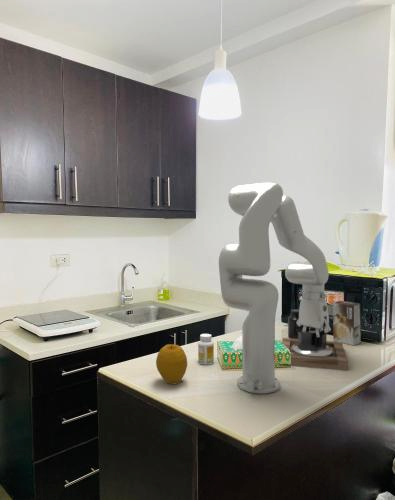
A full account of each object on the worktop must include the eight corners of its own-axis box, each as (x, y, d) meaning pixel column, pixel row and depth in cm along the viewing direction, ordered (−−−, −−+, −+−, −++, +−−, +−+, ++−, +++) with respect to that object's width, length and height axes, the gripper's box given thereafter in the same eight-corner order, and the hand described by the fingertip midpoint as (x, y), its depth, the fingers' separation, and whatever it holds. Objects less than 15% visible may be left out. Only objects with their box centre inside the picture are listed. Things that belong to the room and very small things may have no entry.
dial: (340, 356, 134) (341, 335, 133) (304, 360, 130) (304, 338, 130) (319, 344, 147) (319, 325, 147) (285, 347, 144) (285, 328, 143)
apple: (149, 381, 118) (149, 343, 117) (175, 373, 124) (174, 337, 124) (168, 391, 111) (167, 351, 110) (194, 382, 117) (193, 344, 116)
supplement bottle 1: (214, 359, 136) (214, 333, 136) (213, 365, 131) (213, 337, 130) (199, 359, 137) (198, 332, 136) (197, 364, 132) (197, 337, 131)
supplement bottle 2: (284, 336, 164) (285, 309, 163) (298, 335, 166) (299, 308, 165) (293, 341, 157) (293, 312, 157) (307, 339, 159) (308, 311, 159)
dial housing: (347, 370, 125) (347, 360, 125) (279, 364, 131) (279, 355, 131) (341, 349, 146) (341, 341, 146) (282, 345, 152) (282, 337, 152)
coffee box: (361, 342, 155) (361, 303, 154) (353, 346, 151) (354, 305, 150) (339, 337, 162) (340, 300, 161) (332, 341, 157) (332, 302, 156)
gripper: (340, 297, 133) (339, 349, 134) (300, 291, 146) (300, 338, 148) (327, 300, 129) (327, 353, 130) (287, 293, 142) (287, 342, 143)
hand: (312, 345), depth 139 cm, fingers closed on dial, 4 cm apart
